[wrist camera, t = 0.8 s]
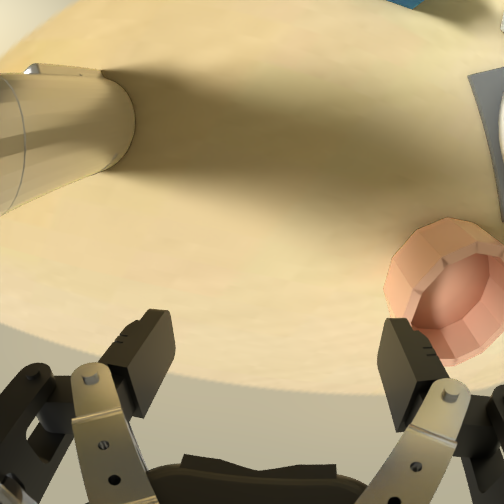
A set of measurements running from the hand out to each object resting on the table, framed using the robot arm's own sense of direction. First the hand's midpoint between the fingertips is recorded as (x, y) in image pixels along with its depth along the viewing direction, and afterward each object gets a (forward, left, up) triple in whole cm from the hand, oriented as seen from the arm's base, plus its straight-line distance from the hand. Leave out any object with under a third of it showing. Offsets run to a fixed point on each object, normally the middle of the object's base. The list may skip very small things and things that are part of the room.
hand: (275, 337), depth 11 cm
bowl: (+13, +12, -18) cm, 25 cm away
